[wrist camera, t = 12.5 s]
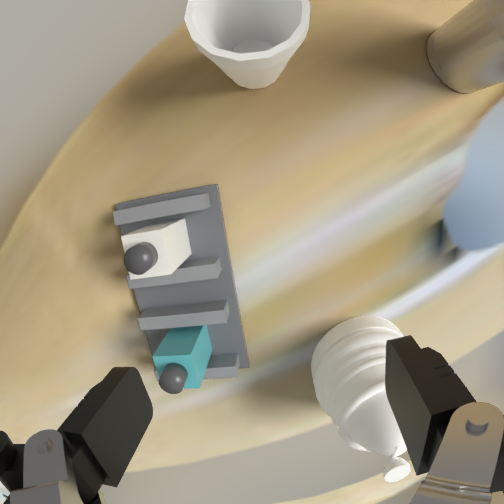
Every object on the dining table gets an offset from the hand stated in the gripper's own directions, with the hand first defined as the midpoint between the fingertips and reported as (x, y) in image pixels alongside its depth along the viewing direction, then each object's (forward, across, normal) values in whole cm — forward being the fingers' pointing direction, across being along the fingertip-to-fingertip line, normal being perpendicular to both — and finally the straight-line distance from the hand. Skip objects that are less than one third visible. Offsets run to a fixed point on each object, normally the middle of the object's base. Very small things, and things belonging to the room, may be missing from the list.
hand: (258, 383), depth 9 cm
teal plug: (+25, +12, +11) cm, 30 cm away
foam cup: (+27, -1, -19) cm, 33 cm away
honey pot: (+27, -8, +18) cm, 34 cm away
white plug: (+25, +11, -1) cm, 28 cm away
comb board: (+26, +12, +5) cm, 29 cm away
